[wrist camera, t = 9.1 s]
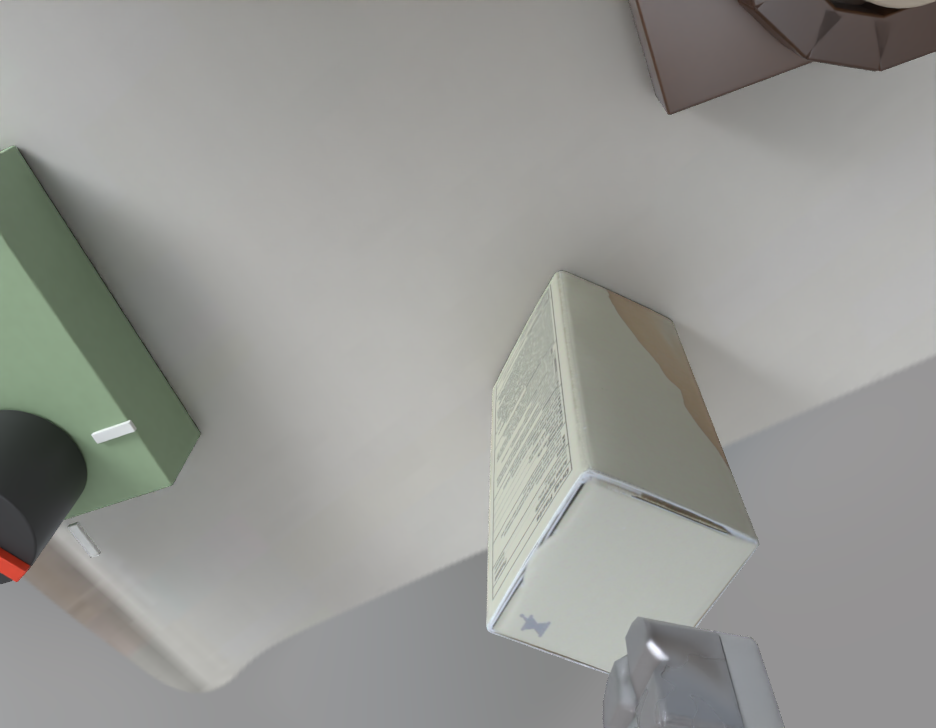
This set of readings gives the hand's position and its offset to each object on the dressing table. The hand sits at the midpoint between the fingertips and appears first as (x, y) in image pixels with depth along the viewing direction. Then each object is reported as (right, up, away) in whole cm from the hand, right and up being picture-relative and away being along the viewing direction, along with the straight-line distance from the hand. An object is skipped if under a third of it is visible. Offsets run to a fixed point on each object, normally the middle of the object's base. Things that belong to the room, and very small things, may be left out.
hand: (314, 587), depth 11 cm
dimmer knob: (-12, 0, +17) cm, 21 cm away
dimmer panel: (-13, +4, +18) cm, 23 cm away
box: (+6, +3, +18) cm, 19 cm away
